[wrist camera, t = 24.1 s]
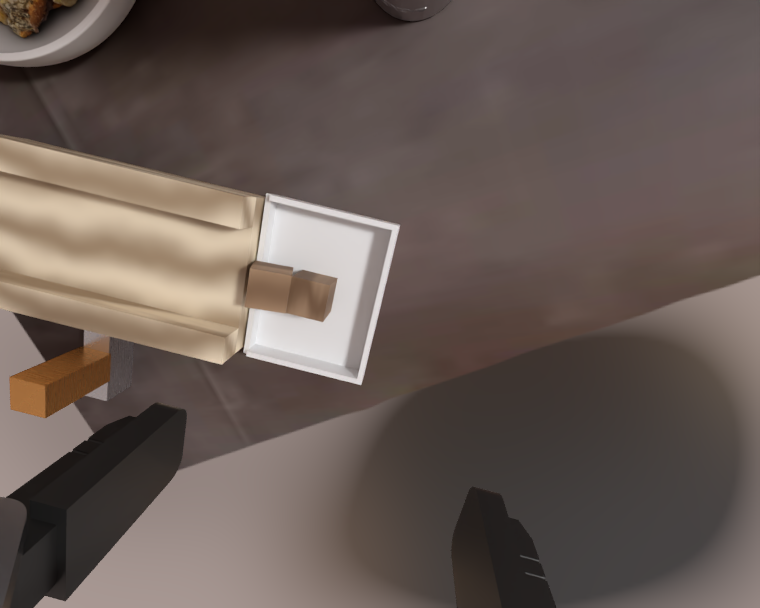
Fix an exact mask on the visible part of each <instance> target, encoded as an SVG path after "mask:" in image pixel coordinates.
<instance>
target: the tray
mask: <svg viewBox="0 0 760 608" xmlns="http://www.w3.org/2000/svg"><path fill="white" fill-rule="evenodd" d="M399 228H400V224H396V223H392V222H388V221H384V220H380V219H376V218H372V217H367V216H363V215H359V214H355V213H351V212H347V211H343V210H338V209H334V208H330V207H326V206H322V205H318V204H314V203H309V202H305V201H301V200H297V199H293V198H289V197H285V196H280V195H276V194H268V193H266V199H265V206H264V213H263V220H262V227H261V234H260V241H259V248H258V254H257V261H262V262H267V263H272V264H278V265H283V266H288V267H293V273H292V276H293V275H295V274H296V273H298V272H300V271H302V270H306V271H310V272H314V273H318V274H322V275H327V276H331V277H335V278H338V279H337V284H336V289H335V294H334V299H333V304H332V309H331V312H330V314H329V315H328V316H327V317H326V319H325V320H324V321H323V322H320V321H316V320H312V319H308V318H304V317H300V316H296V315H292V314H288V313H279V312H273V311H266V310H260V309H254V308H250V310H249V317H248V324H247V331H246V338H245V344H244V351H243V353H246V356H248V357H251V358H255V359H259V360H263V361H267V362H271V363H275V364H279V365H283V366H287V367H291V368H295V369H299V370H303V371H307V372H311V373H315V374H319V375H323V376H327V377H331V378H335V379H339V380H343V381H347V382H351V383H355V384H359V385H361V384H362V380H363V377H364V373H365V369H366V365H367V361H368V357H369V352H370V348H371V344H372V340H373V336H374V332H375V328H376V323H377V319H378V315H379V311H380V307H381V303H382V298H383V294H384V290H385V286H386V282H387V278H388V274H389V269H390V265H391V261H392V257H393V253H394V249H395V245H396V240H397V236H398V232H399ZM286 308H287V307H286Z"/></svg>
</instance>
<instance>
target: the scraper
mask: <svg viewBox="0 0 760 608" xmlns="http://www.w3.org/2000/svg"><path fill="white" fill-rule="evenodd" d="M133 347H134V342H130V341H126V340H122V339H118V338H114V337H110V336H106V335H102V334H98V333H95V332H91V331H87V330H84V347H82V346H81V347H79V348H77V349H74V350H72V351H70V352H67V353H65V354H62V355H60V356H58V357H55V358H53V359H51V360H48V361H46V362H44V363H41V364H39V365H37V366H34V367H32V368H30V369H27V370H25V371H22V372H20V373H18V374H15V375H13V376H11V377H10V404H11V410H15V411H19V412H23V413H27V414H31V415H35V416H39V417H43V418H47V417H48V416H50V415H52V414H54V413H55V412H57V411H59V410H61V409H62V408H64V407H66V406H68V405H69V404H71V403H73V402H74V401H76V400H78V399H80V398H81V397H83V396H89V397H93V398H97V399H101V400H105V401H108V400H109V399H111V398H113V397H114V396H116V395H117V394H119V393H120V392H122V391H124V390H125V389H127V388H128V387H130V386H131V379H132V363H133Z"/></svg>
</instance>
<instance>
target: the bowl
mask: <svg viewBox="0 0 760 608" xmlns="http://www.w3.org/2000/svg"><path fill="white" fill-rule="evenodd" d="M135 1H136V0H0V64H1V65H8V66H17V67H40V66H48V65H54V64H59V63H62V62H66V61H69V60H71V59H74V58H76V57H79V56H81V55H83V54H85V53H87V52H89V51H90V50H92V49H93V48H95V47H96V46H98V45H99V44H101V43H102V42H103V41H104V40H105V39H107V38H108V37H109V36H110V35H111V34H112V33H113V32H114V31H115V30H116V29H117V27H118V26H119V25H120V24H121V23H122V21H123V20H124V19H125V17H126V16H127V14H128V13H129V11H130V10H131V8H132V6H133V5H134V3H135Z"/></svg>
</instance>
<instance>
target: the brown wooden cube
mask: <svg viewBox="0 0 760 608" xmlns="http://www.w3.org/2000/svg"><path fill="white" fill-rule="evenodd" d="M292 273H293V267H288V266H283V265H278V264H272V263H267V262H262V261H256V260H255V262H254V263H253V265H252V266H251V267H250V272H249V279H248V286H247V293H246V300H245V307H247V308H254V309H260V310H266V311H273V312H279V313H286V307H287V302H288V296H289V290H290V284H291V278H292Z"/></svg>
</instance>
